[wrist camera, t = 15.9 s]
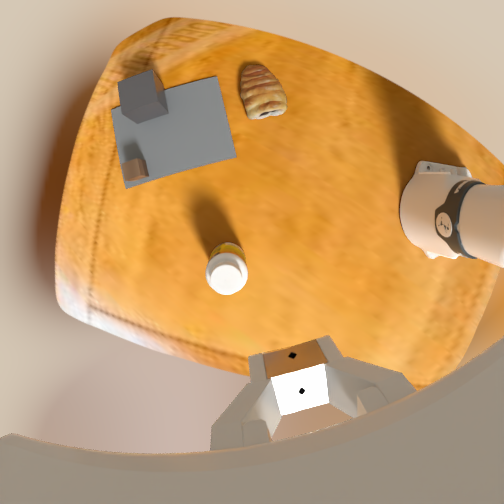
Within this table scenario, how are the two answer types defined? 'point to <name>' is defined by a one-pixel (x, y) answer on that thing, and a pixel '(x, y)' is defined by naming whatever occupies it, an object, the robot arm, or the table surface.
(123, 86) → the dark gray block
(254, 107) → the pastry
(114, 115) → the mat
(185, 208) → the table surface
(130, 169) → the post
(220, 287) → the supplement bottle
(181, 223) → the table surface
